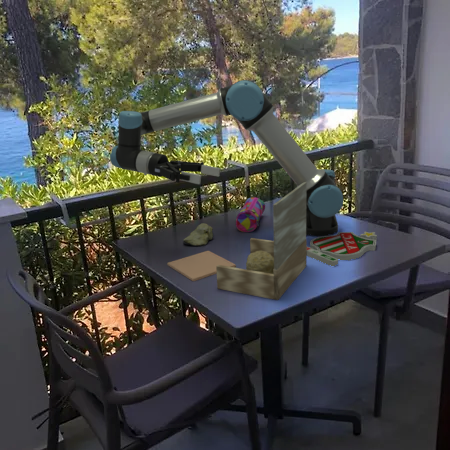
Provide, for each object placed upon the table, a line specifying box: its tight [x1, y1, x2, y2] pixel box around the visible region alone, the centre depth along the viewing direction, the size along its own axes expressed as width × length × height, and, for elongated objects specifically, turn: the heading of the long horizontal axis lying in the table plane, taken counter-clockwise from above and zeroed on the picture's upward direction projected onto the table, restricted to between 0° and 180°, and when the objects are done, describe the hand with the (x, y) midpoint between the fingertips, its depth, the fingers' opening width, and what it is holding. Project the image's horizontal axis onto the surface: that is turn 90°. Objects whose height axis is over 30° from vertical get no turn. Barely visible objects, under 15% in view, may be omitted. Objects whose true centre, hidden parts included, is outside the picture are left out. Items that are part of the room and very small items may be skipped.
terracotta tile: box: [166, 250, 237, 282], centre depth 152 cm, size 16×16×1 cm
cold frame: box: [216, 182, 308, 301], centre depth 138 cm, size 19×24×27 cm
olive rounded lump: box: [245, 251, 274, 274], centre depth 142 cm, size 9×10×10 cm
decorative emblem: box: [307, 231, 378, 267], centre depth 162 cm, size 19×2×30 cm
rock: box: [182, 222, 214, 247], centre depth 173 cm, size 11×6×10 cm
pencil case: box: [235, 196, 266, 233], centre depth 188 cm, size 22×9×9 cm, turn 169°
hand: (210, 176), depth 149 cm, fingers open, 13 cm apart
